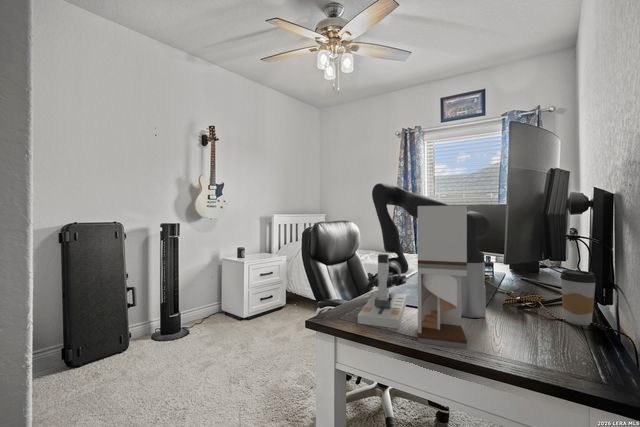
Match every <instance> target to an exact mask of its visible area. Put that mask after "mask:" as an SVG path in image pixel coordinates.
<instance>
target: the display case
mask: <svg viewBox="0 0 640 427" xmlns="http://www.w3.org/2000/svg"><path fill="white" fill-rule="evenodd" d="M467 208H468V206H467V205H450V206H418V219H417V343H418V344H419V343H420V344H426V345H427V344H429V345H434V346H442V347H451V348H452V347H453V348H457V349H459V348H460V349H467V348H468V340H467V337H466V335H465V331H464V328H463V326H462V316H461V276H467V210H468V209H467Z"/></svg>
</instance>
